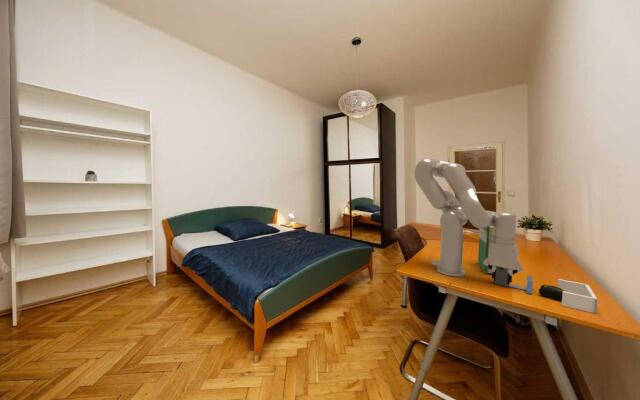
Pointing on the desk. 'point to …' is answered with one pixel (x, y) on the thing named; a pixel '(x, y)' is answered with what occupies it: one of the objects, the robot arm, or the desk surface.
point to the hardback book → (484, 247)
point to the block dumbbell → (502, 281)
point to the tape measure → (551, 291)
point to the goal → (578, 296)
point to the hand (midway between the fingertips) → (501, 281)
